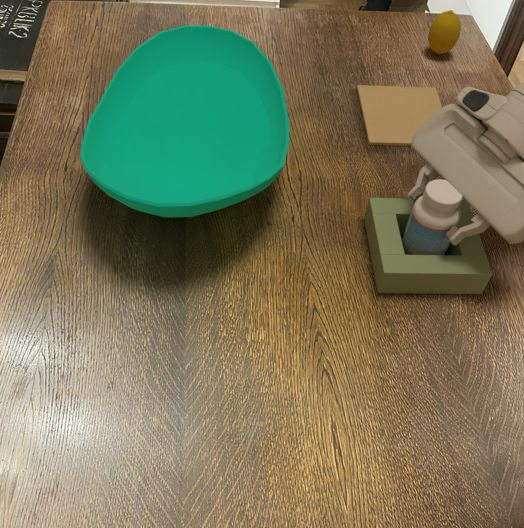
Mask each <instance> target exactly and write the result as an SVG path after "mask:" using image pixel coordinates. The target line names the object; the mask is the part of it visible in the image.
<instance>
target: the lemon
mask: <svg viewBox="0 0 524 528" xmlns="http://www.w3.org/2000/svg"><path fill="white" fill-rule="evenodd" d="M461 23H462V22H461V19H460V17H459V16H458V14H456V13H455V12H454V11H453V10H451V9H449V10H446V11H443V12H441V13H438V14H437V16H436V17H435V18H434V19H433V21H432V22H431V25H430V27H429V30H428V34H427V41H428V45H429V47H430V49H431V50H432V51H433V52H435V54H436V55H437V56H440V55H441V54H445V53H448V52H450V51H451V50H452V49H453V48H454V47H455V46H456V44H457V43H458V41H459V38H460V35H461V30H462V24H461Z"/></svg>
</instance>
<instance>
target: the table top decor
mask: <svg viewBox="0 0 524 528" xmlns="http://www.w3.org/2000/svg"><path fill="white" fill-rule="evenodd" d="M290 138H291V137H290V117H289V112H288V107H287V102H286V97H285V91H284V87H283V85H282V83H281V81H280V79H279V76H278V75H277V72H276V69H275V68H274V65H273V63H272V61H271V60H270V59H269V58H268V57H267V56H266V55H265V53H264V52H262V50H261V49H260V47H258V45H256V43H255V42H254V41H252V40H251V39H250V38H247V37H245V36H244V35H242V34H239V33H238V32H236V31H234V30H232V29H227V28H222V27H218V26H213V25H188V24H187V25H186V24H185V25H182V26H177V27H174V28H170V29H166V30H161V31H160V32H158V33H156V34H155V35H153V36H151V37H150V38H148V39H147V40H146V41H144V42H142V43H141V44H139V45H138V46H137V47H136V48H135V49H134V50H132V52H131V53H130V55H129V56H127V58H126V59H125V60H124V61H123V62H122V64H121V65H120V66H119V67H118V68H117V69H116V70H115V73H114V74H113V76H112V78H111V80H110V82H109V83H108V85H107V87H106V88H105V91H104V92H103V95H102V96H101V98H100V100H99V101H98V103H97V105H96V107H95V108H94V110H93V112H92V113H91V116H90V117H89V119H88V120H87V124H86V126H85V130H84V133H83V137H82V141H81V146H80V151H79V159H80V161H81V164H82V166H83V168H84V170H85V173H86V174H87V175H88V177H89V178H90V180H91V182H93V184H95V185H96V186H97V187H98V188H99V189H100V190H101V191H102V192H103V193H105V195H107V196H108V197H110V198H112V199H113V200H116V201H118V202H119V203H121V204H123V205H125V206H126V207H129V208H130V209H132V210H135V211H139V212H141V213H145V214H149V215H153V216H157V217H161V218H192V217H197V216H200V215H205V214H208V213H212V212H216V211H219V210H222V209H225V208H228V207H231V206H233V205H236V204H239V203H242V202H244V201H246V200H248V199H249V198H251V197H254V196H256V195H257V194H259V193H261V192H262V191H264V190H266V189H267V188H268V187H269V186H270V185H271V184H272V183H274V181H275V180H276V179H278V178H279V177H280V175H281V173H282V170H283V168H284V166H285V162H286V159H287V154H288V150H289V147H290V144H291V143H290V142H291V141H290Z"/></svg>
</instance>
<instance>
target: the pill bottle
mask: <svg viewBox="0 0 524 528" xmlns="http://www.w3.org/2000/svg"><path fill="white" fill-rule="evenodd" d="M462 197H463V196H462V195H461V194H460V193H459V192H458V191H457V190H456V189H455V188H454V187H453V186H452V185H451V184H450V183H449V182H448V181H447V180H444V179H443V178H440V179H438V178H436V179H435V180H433V181H431V180H430V181H429V182H428V184H427V186H426V188H425V191H424V193H423V195H422V196H421V197H419V198H418V199H417V200H416V202H415V203H414V206H413V209H412V212H411V215H410V218H409V221H408V224H407V226H406V230H405V233H404V235H402V238H401V240H402V245H403V249H404V253H405V255H446V254H447V252H446V251H447V249H448V246H449V244H450V241H449V240H448V239H447V238H446V237H445V236H444V235H445V233H446V232H447V231H450V228H451V227H452V226H453V225H455V226H456V227H457V225H458V222H459V220H460V216H461V211H460V208H459V205H460V203H461V200H462V199H463V198H462Z"/></svg>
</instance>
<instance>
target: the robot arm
mask: <svg viewBox="0 0 524 528" xmlns="http://www.w3.org/2000/svg"><path fill="white" fill-rule="evenodd" d="M456 101H457V103H449V104H447V105H444V106H442V108H441V109H440V110H439V111H438V112H436V113H435V114H434V115H433V116H432V117H431V118H430V119H429V120H428V121H427V122H426V123H425V124H424V125H423V126H422V127H421V128H420V129H419V130H418V131H417V132H416V133H415V134H414V136H413V138H412V142H411V146H410V147H411V148H412V150H413V151H414V152H415V153H416V154H417V155H418V156H419V157H420V158H421V159H422V160H423V161H424V162H425V164H424V165H423V166H422V168H420V169H419V172H418V176H417V178H416V182H415V185H414V186H413V187H412V188H411V190H410V191H408V192H407V193H406V198H409V199H410V200H411V201H412V202H413V203H415V202H416V200H417V199H418V198H419V197H421V196H422V195H423V193H424V191H425V188H426V186H427V184H428V183H429V182H431V181H433V180H437V179H438V177H439V176H440V178H441V179H443V180H447V181H448V182H449V183H450V184H451V185H452V186H453V187H454V188H455V189H456V190H457V191H458V192H459V193H460V194H461V195H462V196H463V197H462V199H464V200H465V201H466V202H467V203H468V204H469V205H470V208H472V209H473V210H474V211H475V212H476V214H475V215H473V218H472V221H473V222H474V223H473V224H470V225H467V226H464V227H461V228H459V229H458V228H457V227H456V226H455V225H453V226H452V227H451V228H450V231H447V232H446V233H445V235H444V236H445V237H446V238H447V239H448V240H449V241H450V242H451V243H452V244H453V245H457V244H458V243H459V242H460V241H462V240H463V239H464V238H465V237H466V236H467V237H468V236H472V235H475V234H479V235H480V234H482V233H484V232H485V231H486V230H487V229H488V228H490V227H491V228H492V229H493V230H494V231H496V233H497V234H498V235H499V236H500V237H502V239H504V240H505V242H507V244H509V245H516V244H521V243H522V242H524V81H523V82H522V83H519V84H518V85H516V86H515V87H514V88H513V89H512V90H511V91H509V92H508V93H507V94H506V96H504V95H501V94H497V93H492V92H489V91H486V90H482V89H479V88H475V87H472V86H466V87H463V88H462V89H461V90H460V91H459V92H458V94H457V95H456Z"/></svg>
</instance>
